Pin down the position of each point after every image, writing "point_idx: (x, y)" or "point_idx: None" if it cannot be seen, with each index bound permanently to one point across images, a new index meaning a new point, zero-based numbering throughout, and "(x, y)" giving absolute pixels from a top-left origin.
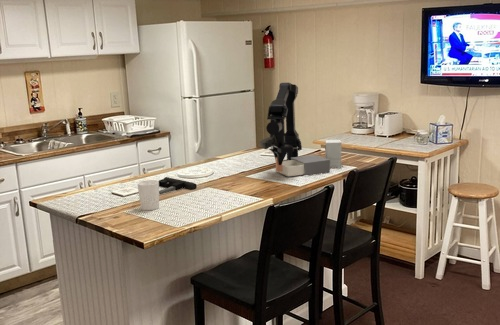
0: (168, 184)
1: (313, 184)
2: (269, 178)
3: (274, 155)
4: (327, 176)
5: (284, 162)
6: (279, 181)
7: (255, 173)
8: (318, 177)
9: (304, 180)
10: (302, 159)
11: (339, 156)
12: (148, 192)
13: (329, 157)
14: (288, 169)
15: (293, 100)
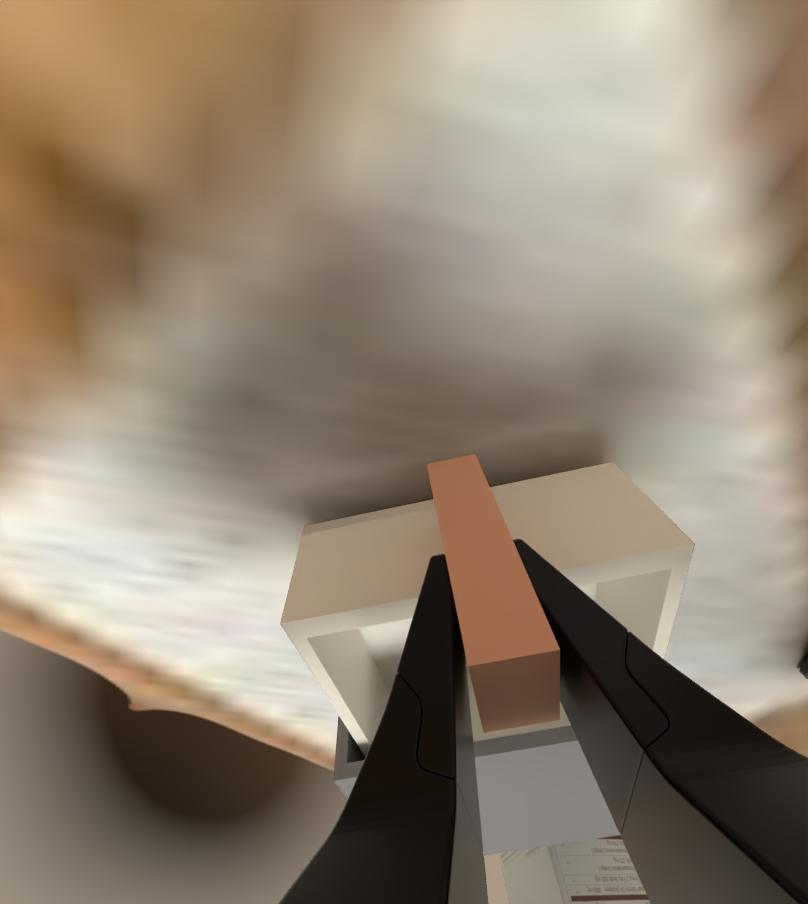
0: None
1: (37, 644)
2: (321, 308)
3: (648, 676)
4: (297, 726)
5: (646, 620)
6: (136, 406)
7: (737, 132)
8: (278, 691)
9: (184, 614)
10: (523, 777)
11: (508, 881)
12: None
13: (536, 850)
14: (291, 602)
15: None
